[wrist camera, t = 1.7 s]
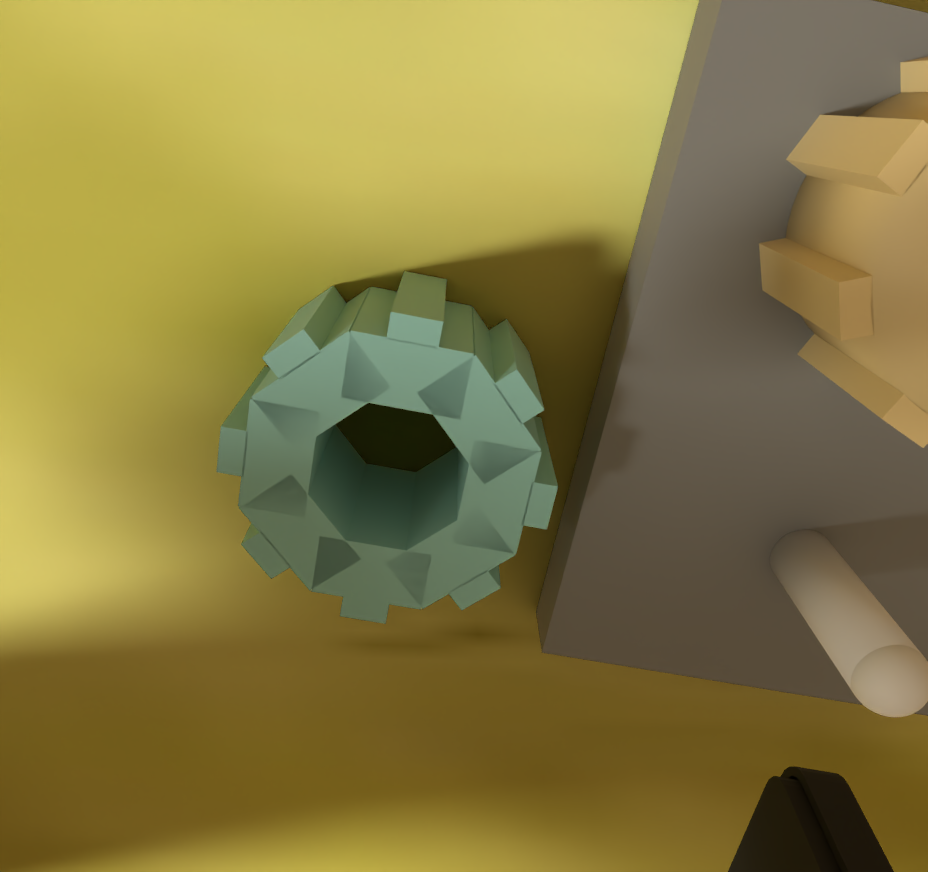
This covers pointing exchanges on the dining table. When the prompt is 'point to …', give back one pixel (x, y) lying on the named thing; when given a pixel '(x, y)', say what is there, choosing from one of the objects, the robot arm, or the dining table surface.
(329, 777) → the dining table surface
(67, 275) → the dining table surface
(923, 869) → the dining table surface
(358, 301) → the teal gear
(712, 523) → the gear board
